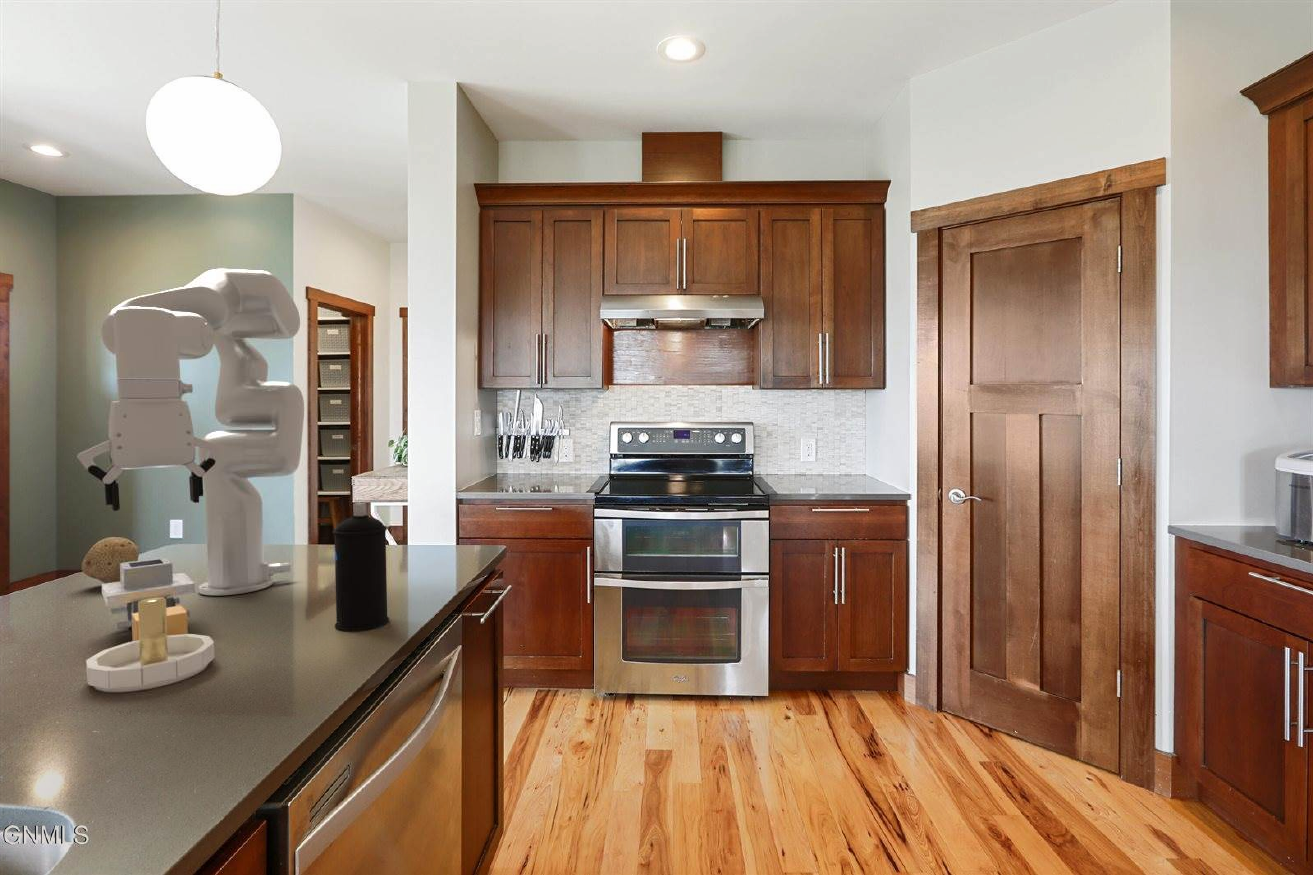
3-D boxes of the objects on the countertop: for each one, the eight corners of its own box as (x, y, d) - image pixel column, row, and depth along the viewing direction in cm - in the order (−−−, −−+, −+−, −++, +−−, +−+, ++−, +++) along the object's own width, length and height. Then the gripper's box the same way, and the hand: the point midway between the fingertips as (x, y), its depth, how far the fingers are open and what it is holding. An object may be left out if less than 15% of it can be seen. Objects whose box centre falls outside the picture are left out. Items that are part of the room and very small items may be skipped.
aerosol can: (399, 618, 113) (397, 501, 112) (363, 634, 105) (361, 508, 104) (361, 614, 115) (358, 499, 115) (323, 629, 108) (320, 505, 107)
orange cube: (182, 640, 103) (180, 605, 103) (188, 648, 99) (187, 612, 99) (132, 650, 99) (131, 613, 98) (137, 659, 95) (136, 621, 95)
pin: (166, 660, 92) (164, 596, 92) (169, 666, 90) (167, 600, 89) (139, 666, 90) (136, 600, 89) (141, 672, 88) (139, 605, 87)
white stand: (183, 613, 117) (182, 553, 116) (200, 635, 105) (198, 569, 105) (102, 627, 109) (100, 563, 109) (110, 652, 97) (108, 581, 97)
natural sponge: (77, 594, 129) (75, 543, 129) (89, 584, 137) (87, 535, 137) (136, 587, 134) (134, 538, 134) (144, 578, 142) (142, 531, 141)
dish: (203, 648, 99) (202, 628, 99) (222, 673, 89) (221, 651, 89) (84, 672, 90) (83, 650, 90) (91, 703, 80) (90, 679, 80)
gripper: (213, 391, 108) (218, 495, 109) (71, 391, 96) (79, 509, 97) (223, 391, 102) (228, 502, 104) (74, 392, 91) (82, 516, 92)
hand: (156, 505), depth 101 cm, fingers open, 9 cm apart
